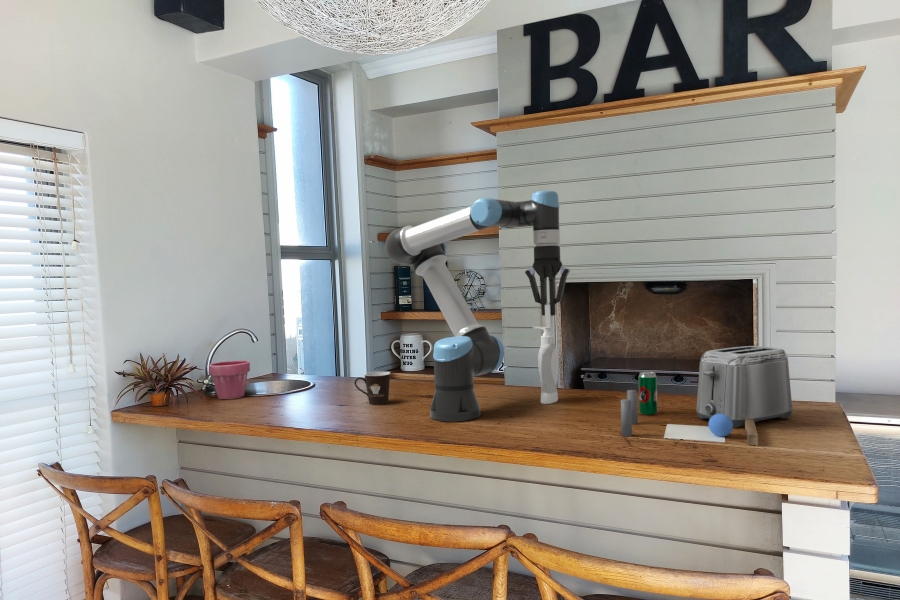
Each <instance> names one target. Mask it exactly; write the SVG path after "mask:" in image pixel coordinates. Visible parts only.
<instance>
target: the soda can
mask: <svg viewBox="0 0 900 600" xmlns="http://www.w3.org/2000/svg"><path fill="white" fill-rule="evenodd" d="M637 378H638V408H639V409H638V412H639V413H640V414H641V415H644V416H655V415H656V414H658V385H657V383H658V380H657V378H658V376H657V375H656V372H655V371H640V372H639V375H638V377H637Z"/></svg>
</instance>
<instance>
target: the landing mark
mask: <svg viewBox="0 0 900 600" xmlns="http://www.w3.org/2000/svg"><path fill="white" fill-rule="evenodd" d="M725 437H726V436H724V437H720V436H716V435H714V434H713V433H712V432H711V431H710V429H709V425H708V426H706V425H705V426H704V425H702V426H701V425H690V424H689V425H688V424H687V425H686V424H673V423H667V424H666V428H665V432H664V435H663V439H665V438H668V439H670V440H680V439H683V440H682V441H684V440H685V441H694V440H695V442H696V441H697V442H700V441H701V442H710V443H723V444H724V443H726V438H725Z"/></svg>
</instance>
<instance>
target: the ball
mask: <svg viewBox="0 0 900 600" xmlns="http://www.w3.org/2000/svg"><path fill="white" fill-rule="evenodd" d="M708 427H709V429H710V431H711V432H712V433H713V434H714V435H716V436H720V437H724V436H725V437H726V436H727V437H728V436H729V435H730V434H731V433H732V432H733V428H734V427H733V423H732V421H731V419H730V418H729V417H728V416H726V415H724V414H716V415H714V416H712V417H711V418H709V420H708Z"/></svg>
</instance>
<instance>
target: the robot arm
mask: <svg viewBox="0 0 900 600" xmlns="http://www.w3.org/2000/svg"><path fill="white" fill-rule="evenodd" d="M492 227H499V228H501V229H514V228H523V227H532V233H533V235H532V236H533V245H534V247H533V263H532V267H530V268H529V269H528V270H527V269H526V270H525V272H524V274H525V275H526V276H527V278H528V280H529V284H530V289H531V290H532V291H531V292H532V295H533V300H534V302H535V303H538V304H540V305H541V306H540V307H541V315H542V317H543V316H544V323H545V326H544V327H551V328H553V327H554V326H553V325H554V323H553V316H556V315H557V314H556V313H557V312H556V309H557V308H556V305H557V303H561V302H562V300H563V298H564V297H563V296H564V291H565V286H566V281H567V277H568V275H569V274H570V273H571V269H570V268H567V267H565V266H563V263H562V260H561V247H560V245H559V244H561V236H560V234H561V233H560V203H559V194H558V193H557V192H556V191H554V190H540V191H539V190H538V191H534V192H533V193H532V194H531V199H530V200H529V199H528V200H523V201H511V200H503V199H497V198H493V197H492V198H491V197H486V198H484V197H483V198H482V197H481V198H479V199H477V200H475V201H474V202H473V204H472V205H470V206H468V207H464V208H461V209H459V210H457V211H454V212H451V213H448V214H446V215H443V216H440V217H437V218H434V219H431V220H429V221H425V222H424V223H420V224H418V225H415V226H412V225H407V226H406V225H405V226H403V227H400V228H398V229H395V230H393V231H391V233H389V235H388V236H386V239H385V244H384V245H385V246H384V247H385V248H384V249H385V252H386V255H387V256H388V258H389V259H390V260H391V261H392V262H393V263H395V264H399V265H403V266H404V265H405V266H406V265H407V266H408V265H410V266H411V267H412V268H413V271H414V272H415V274H416V275H417V276H420V277H422V278H423V280H424V281H425V284H426V285H427V287H428V289H429V291H430V293H431V295H432V297H433V299H434V300H435V302H436V304H437V306H438V308H439V310H440V312H441V314H442V315H443V318H444V320H445V321H446V323H447V324H448V326H449V328H450V330H451V333H452V334H453V336H452V337H443V338H441V339H439V340H437V341H435V343H434V345H433V355H432V356H433V370H434V371H433V372H434V374H433V375H434V376H433V377H434V394H433V397H432V400H431V404H430V407H429V408H430V409H429V415H430V417H429V418H431V419H432V420H434V421H438V422H439V421H440V422H452V423H453V422H465V421H472V420H475V419H478V418H480V417H481V406H480V404H479V400H478V398H477V395H476V392H475V388H474V387H475V386H474V377H479V376H482V375H487V374H488V375H489V374H490V373H492V372H494V371H496V370H498V369H499V368H500V367H501V365H502V364H503V361H504V357H505V348H504V344H503V342H502V341H501V339H500V338H498V337H497V336H494V335H491V334H490V333H489V332H488V329H487V327H486V326H485V325H481V324H479V323H478V321H477V320H476V318H475V316H474V314H473V312H472V310H471V309H470V307H469V305H468V303H467V301H466V299H465V297H464V295H463V293H462V291H460V289H459V287H458V285H457V283H456V281H455V279H454V278H453V276H452V274H451V272H450V270H449V269H448V267H447V264H446V262H447V261H448V258H447V251H446V250H447V243H446V242H449V241H453V240H456V239H458V238H462V237H465V236H468V235H470V234H474V233H475V232H479V231H483V230H486V229H488V228H492ZM535 273H536V274H537V275H538V277H539V283H540V285H539V287H540V291H539V288H538V283H537V280H536V277H535ZM559 273H560V274H561V275H560V279H559V284H558V287H557V292H556V276H557V275H558V274H559ZM547 280H548V285H549V287H547ZM547 288H549V289H548V290H547ZM548 291H549V295H548V293H547V292H548ZM548 296H549V303H548Z"/></svg>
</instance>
